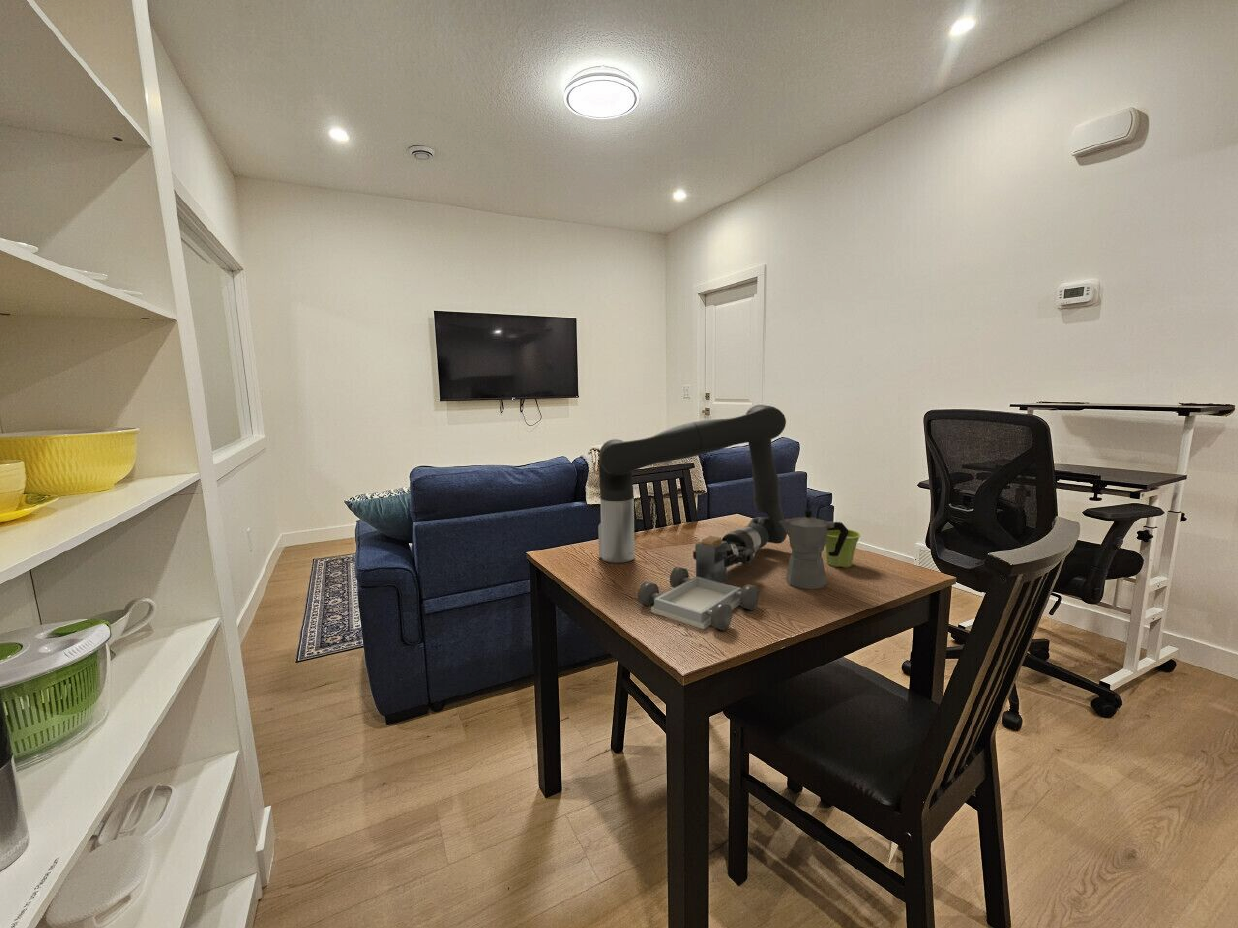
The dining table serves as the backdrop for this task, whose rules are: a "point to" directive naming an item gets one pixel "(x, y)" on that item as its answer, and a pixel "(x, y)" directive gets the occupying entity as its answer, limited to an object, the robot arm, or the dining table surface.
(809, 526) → the coffeepot
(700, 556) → the tall block with cap
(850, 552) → the plant pot
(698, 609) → the chassis
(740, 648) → the dining table surface
